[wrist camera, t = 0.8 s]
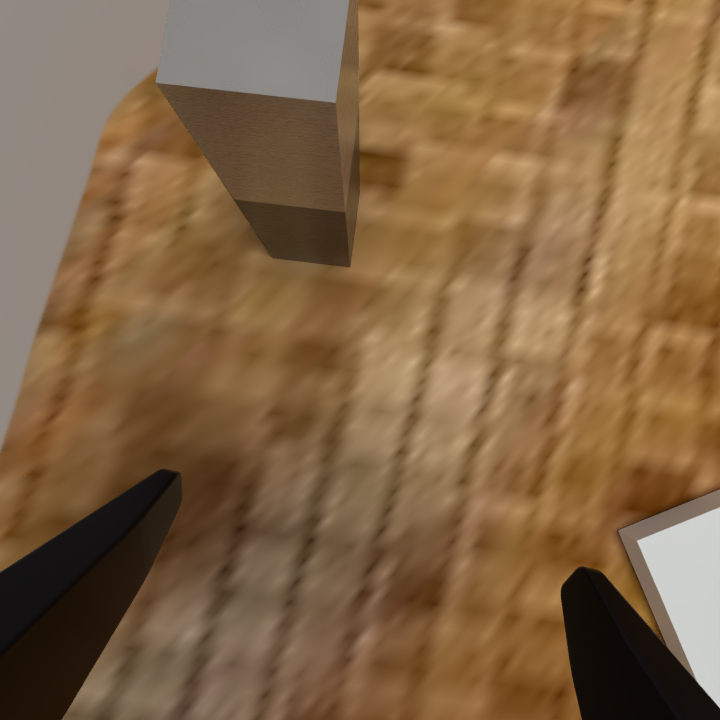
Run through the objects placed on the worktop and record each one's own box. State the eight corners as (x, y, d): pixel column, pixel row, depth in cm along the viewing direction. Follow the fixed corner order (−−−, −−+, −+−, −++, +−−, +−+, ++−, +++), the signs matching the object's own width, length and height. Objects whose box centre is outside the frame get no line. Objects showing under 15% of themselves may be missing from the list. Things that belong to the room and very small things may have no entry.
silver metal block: (350, 267, 23) (335, 103, 10) (272, 258, 23) (155, 82, 10) (359, 192, 23) (357, -63, 10) (283, 183, 23) (183, -81, 10)
